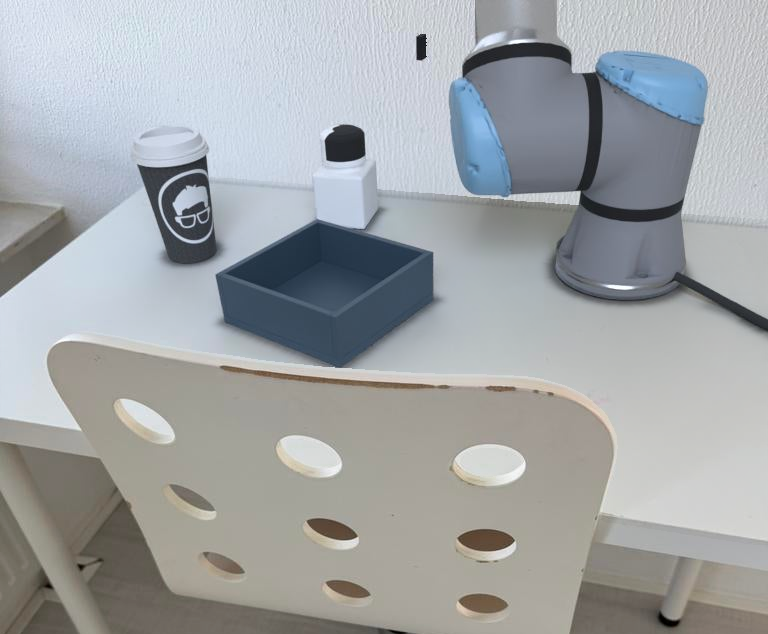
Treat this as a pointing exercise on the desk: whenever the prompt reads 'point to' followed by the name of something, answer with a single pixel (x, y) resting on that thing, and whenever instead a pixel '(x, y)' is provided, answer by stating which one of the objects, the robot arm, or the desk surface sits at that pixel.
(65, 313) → the desk surface
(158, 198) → the coffee cup
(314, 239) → the bin
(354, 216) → the medicine bottle
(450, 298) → the desk surface
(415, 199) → the desk surface
